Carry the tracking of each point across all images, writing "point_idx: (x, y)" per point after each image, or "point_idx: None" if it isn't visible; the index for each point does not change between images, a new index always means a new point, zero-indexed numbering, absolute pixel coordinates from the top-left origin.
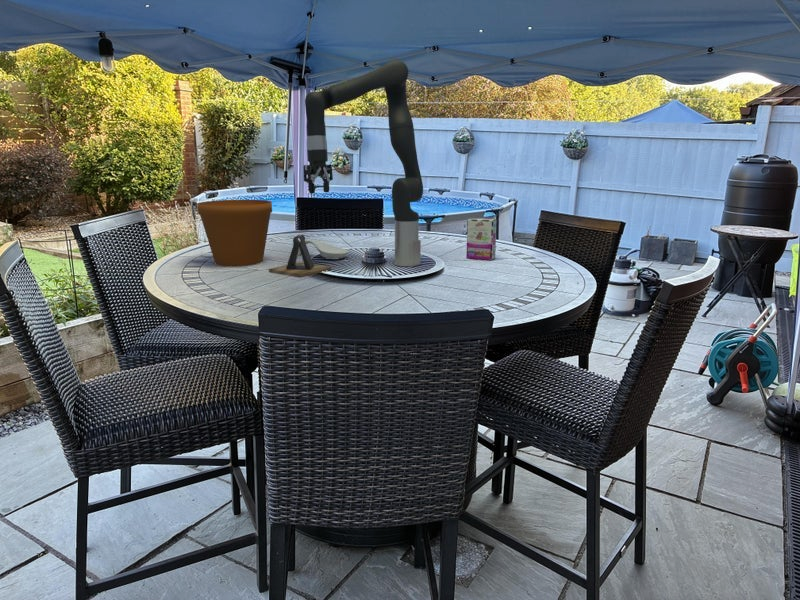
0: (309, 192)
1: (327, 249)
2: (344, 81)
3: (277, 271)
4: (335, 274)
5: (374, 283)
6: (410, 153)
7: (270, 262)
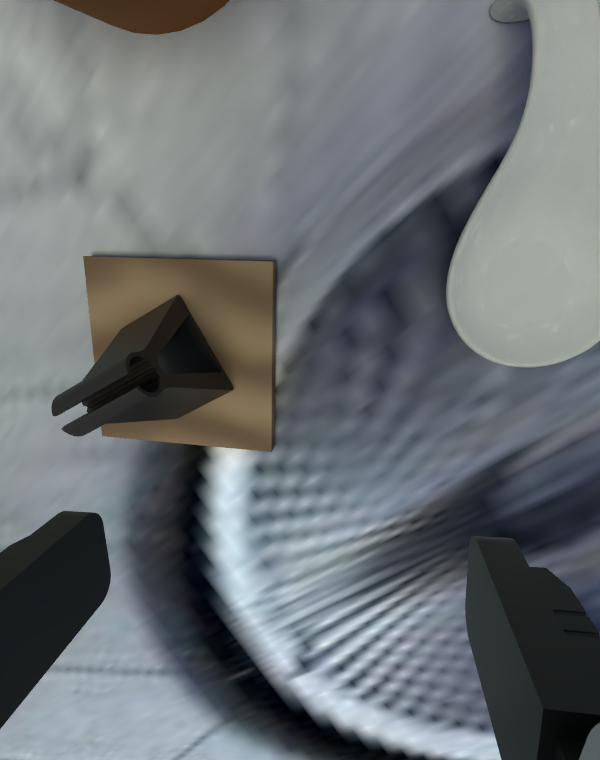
0: (61, 518)
1: (577, 205)
2: None
3: (91, 310)
4: (223, 504)
5: (197, 666)
6: None
7: (244, 59)
